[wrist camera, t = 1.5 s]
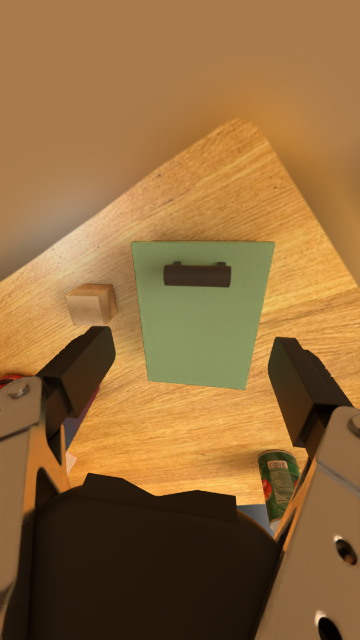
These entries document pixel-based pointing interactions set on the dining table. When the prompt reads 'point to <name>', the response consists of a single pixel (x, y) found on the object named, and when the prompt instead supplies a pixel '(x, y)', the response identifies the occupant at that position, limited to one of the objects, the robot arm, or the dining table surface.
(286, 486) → the canned tomato
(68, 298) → the wooden block
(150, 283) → the lunchbox lid
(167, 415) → the dining table surface
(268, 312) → the dining table surface
